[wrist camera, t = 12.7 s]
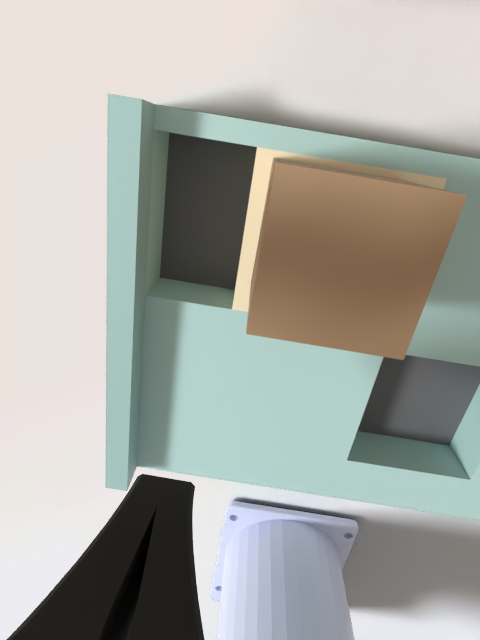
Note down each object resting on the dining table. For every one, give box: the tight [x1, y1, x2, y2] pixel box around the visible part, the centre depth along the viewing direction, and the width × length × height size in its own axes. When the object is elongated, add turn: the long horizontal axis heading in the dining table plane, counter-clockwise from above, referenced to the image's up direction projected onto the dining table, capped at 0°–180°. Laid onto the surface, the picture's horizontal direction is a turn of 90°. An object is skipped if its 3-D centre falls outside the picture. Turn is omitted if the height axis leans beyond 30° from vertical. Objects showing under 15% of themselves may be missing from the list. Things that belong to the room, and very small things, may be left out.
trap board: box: [106, 94, 480, 520], centre depth 16 cm, size 16×29×4 cm, turn 81°
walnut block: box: [246, 158, 468, 360], centre depth 12 cm, size 4×4×4 cm
